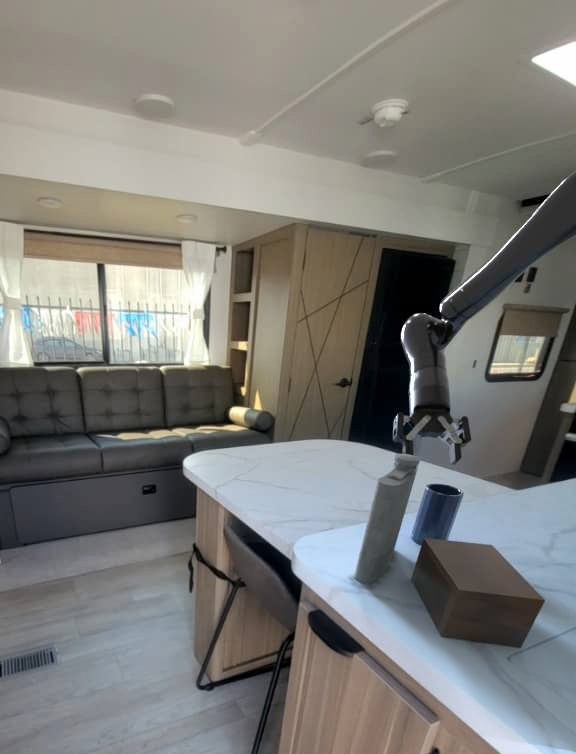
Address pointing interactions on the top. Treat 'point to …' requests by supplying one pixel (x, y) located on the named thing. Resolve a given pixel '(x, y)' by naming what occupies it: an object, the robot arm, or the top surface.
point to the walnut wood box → (475, 593)
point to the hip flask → (386, 518)
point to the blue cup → (437, 512)
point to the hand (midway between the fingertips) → (432, 461)
